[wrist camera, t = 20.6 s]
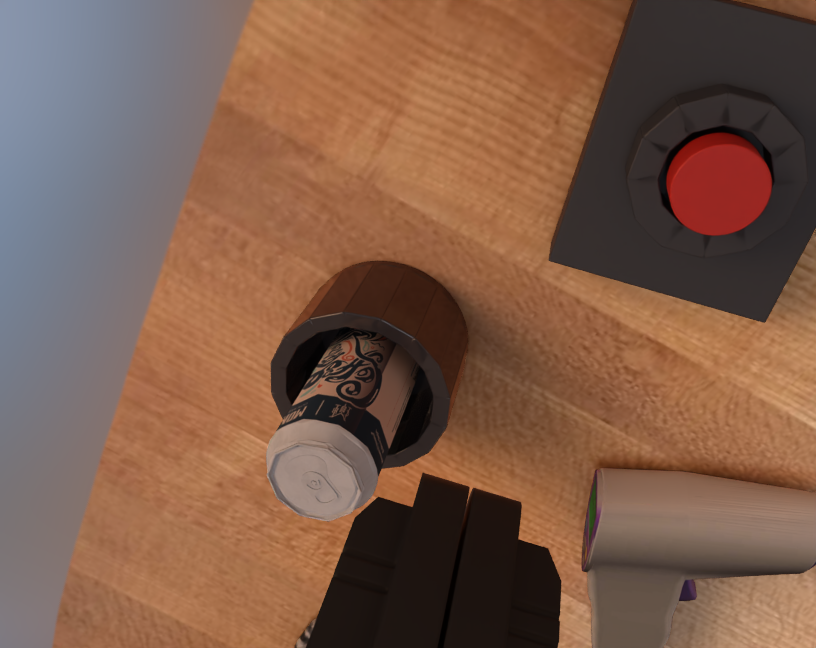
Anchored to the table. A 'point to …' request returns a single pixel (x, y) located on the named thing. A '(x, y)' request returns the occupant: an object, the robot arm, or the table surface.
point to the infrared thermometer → (682, 544)
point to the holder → (395, 320)
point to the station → (674, 128)
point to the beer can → (341, 426)
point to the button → (718, 184)
